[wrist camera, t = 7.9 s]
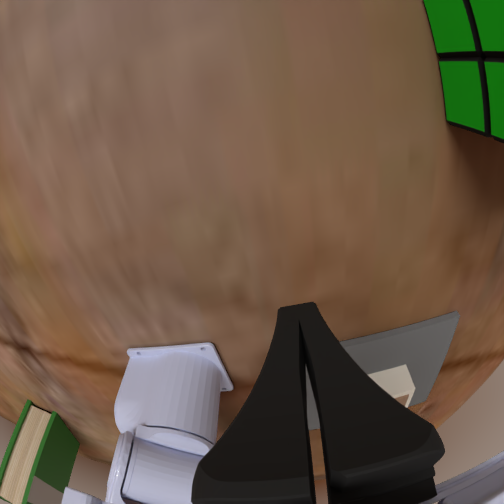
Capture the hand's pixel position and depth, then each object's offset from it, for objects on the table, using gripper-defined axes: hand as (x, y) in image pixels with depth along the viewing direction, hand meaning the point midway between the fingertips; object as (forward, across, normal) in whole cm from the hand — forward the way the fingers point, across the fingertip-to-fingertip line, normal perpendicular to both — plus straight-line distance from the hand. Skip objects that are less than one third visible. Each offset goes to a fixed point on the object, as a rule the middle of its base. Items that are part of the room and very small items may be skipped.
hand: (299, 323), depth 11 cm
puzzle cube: (+11, -18, -10) cm, 23 cm away
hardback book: (+11, +53, +36) cm, 65 cm away
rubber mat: (+10, -7, +23) cm, 26 cm away
